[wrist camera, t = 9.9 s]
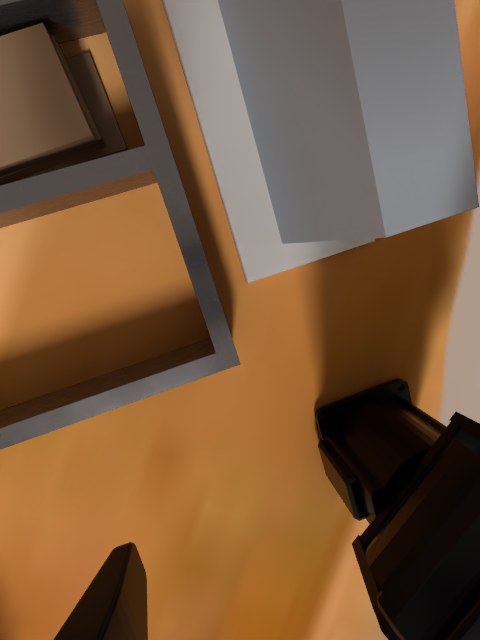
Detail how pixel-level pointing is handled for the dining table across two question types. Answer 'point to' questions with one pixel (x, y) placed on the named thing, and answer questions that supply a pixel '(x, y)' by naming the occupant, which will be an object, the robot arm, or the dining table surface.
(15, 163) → the offcut top
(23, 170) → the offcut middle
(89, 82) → the offcut bottom
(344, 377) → the dining table surface
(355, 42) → the grey rectangular block
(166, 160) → the rack
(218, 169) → the mat
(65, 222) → the dining table surface
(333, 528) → the dining table surface
